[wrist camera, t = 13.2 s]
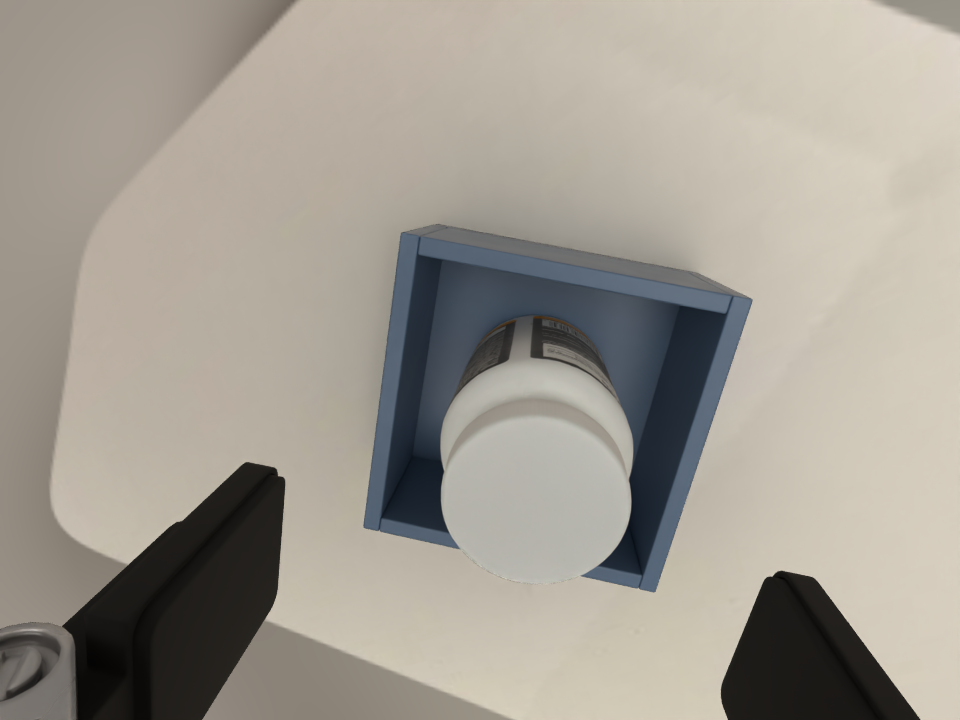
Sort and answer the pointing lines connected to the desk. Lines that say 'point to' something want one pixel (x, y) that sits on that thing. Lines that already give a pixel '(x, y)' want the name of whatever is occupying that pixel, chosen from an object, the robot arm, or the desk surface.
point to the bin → (612, 329)
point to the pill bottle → (536, 454)
